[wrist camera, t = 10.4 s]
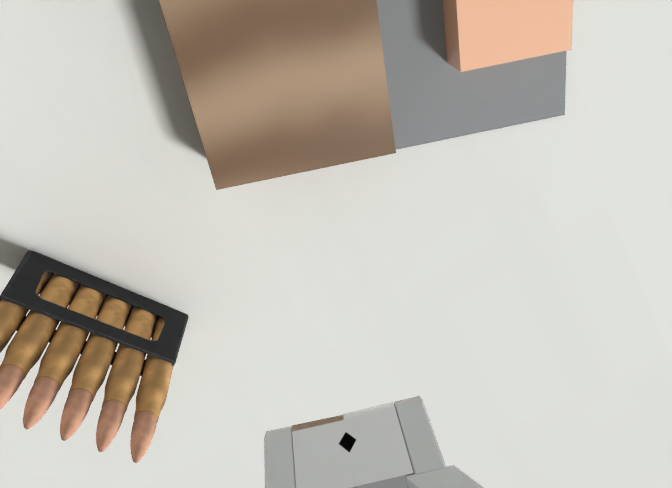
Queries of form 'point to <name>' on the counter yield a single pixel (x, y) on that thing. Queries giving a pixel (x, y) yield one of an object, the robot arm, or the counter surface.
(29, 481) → the counter surface
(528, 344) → the counter surface
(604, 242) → the counter surface
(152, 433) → the ammunition clip
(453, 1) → the tile
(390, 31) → the mat
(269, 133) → the deck
